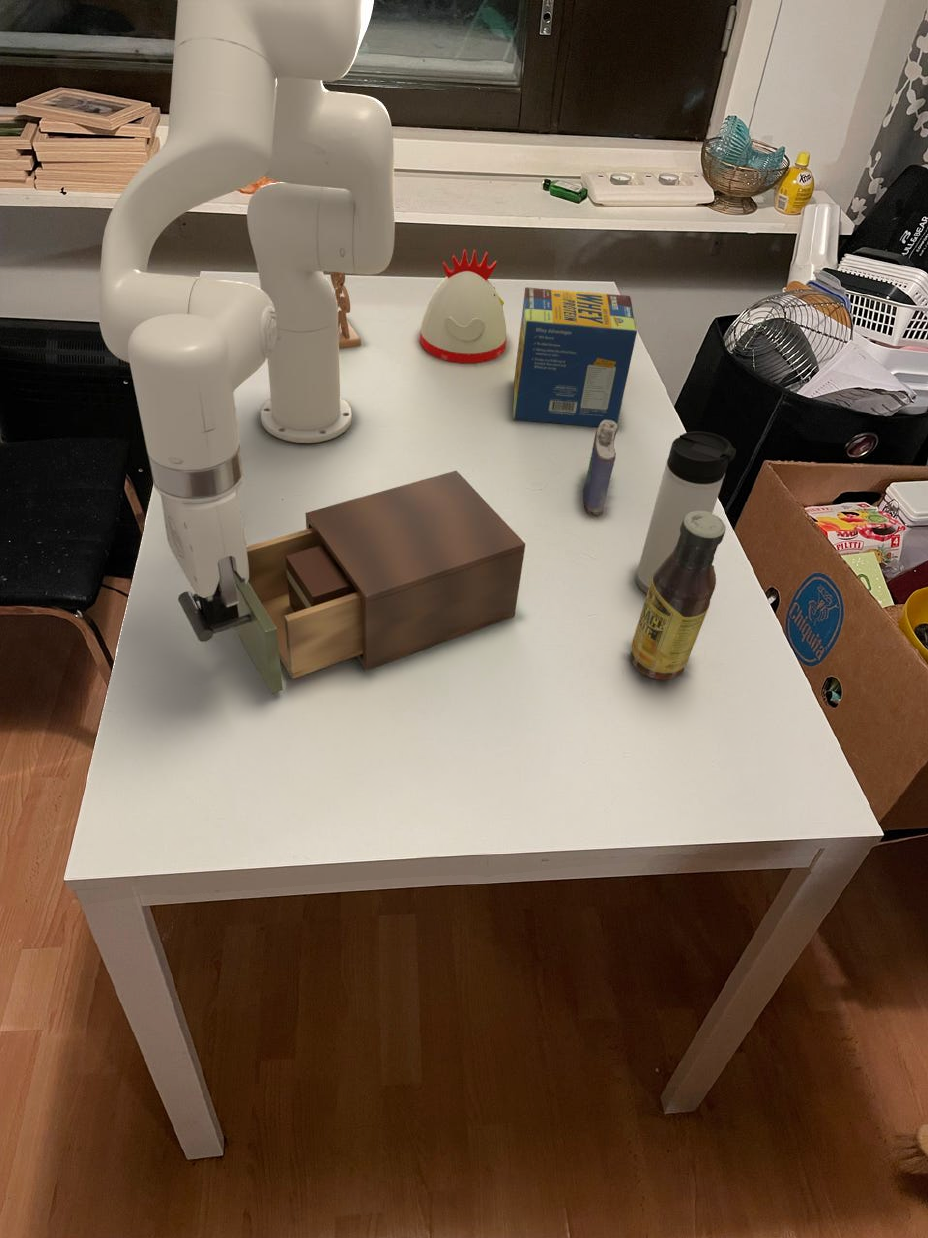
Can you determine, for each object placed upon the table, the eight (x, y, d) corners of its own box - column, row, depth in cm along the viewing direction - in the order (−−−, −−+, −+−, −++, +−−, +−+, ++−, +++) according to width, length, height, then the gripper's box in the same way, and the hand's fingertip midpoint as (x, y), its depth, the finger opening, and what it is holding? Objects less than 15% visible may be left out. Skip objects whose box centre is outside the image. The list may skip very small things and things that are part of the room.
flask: (603, 517, 118) (618, 446, 111) (580, 514, 118) (594, 443, 111) (606, 476, 125) (621, 407, 117) (584, 473, 125) (598, 404, 118)
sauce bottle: (623, 642, 102) (662, 497, 88) (677, 641, 103) (725, 498, 89) (635, 686, 98) (678, 541, 84) (692, 685, 98) (744, 542, 84)
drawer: (220, 713, 90) (209, 651, 84) (176, 626, 98) (163, 564, 92) (425, 638, 99) (428, 577, 93) (370, 565, 107) (370, 504, 101)
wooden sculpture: (361, 345, 146) (361, 271, 138) (338, 348, 145) (336, 274, 136) (343, 319, 152) (341, 247, 143) (320, 322, 150) (317, 249, 142)
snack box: (315, 646, 96) (312, 597, 91) (289, 604, 100) (284, 555, 95) (351, 634, 97) (350, 585, 92) (323, 593, 102) (321, 544, 97)
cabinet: (366, 670, 96) (365, 596, 89) (309, 586, 105) (305, 512, 98) (514, 616, 104) (525, 543, 97) (450, 541, 113) (456, 469, 105)
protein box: (512, 383, 141) (524, 285, 130) (612, 392, 141) (632, 294, 130) (512, 420, 133) (524, 319, 122) (617, 429, 134) (639, 329, 123)
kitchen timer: (505, 366, 144) (516, 272, 134) (418, 359, 144) (421, 265, 134) (504, 325, 154) (514, 235, 144) (422, 318, 154) (426, 228, 144)
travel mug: (678, 609, 107) (724, 466, 93) (626, 586, 109) (664, 443, 95) (698, 580, 111) (745, 439, 97) (648, 559, 113) (687, 417, 99)
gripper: (126, 429, 81) (159, 584, 94) (181, 524, 72) (209, 681, 85) (209, 411, 84) (230, 563, 97) (271, 500, 75) (286, 655, 88)
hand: (220, 618), depth 91 cm, fingers closed
